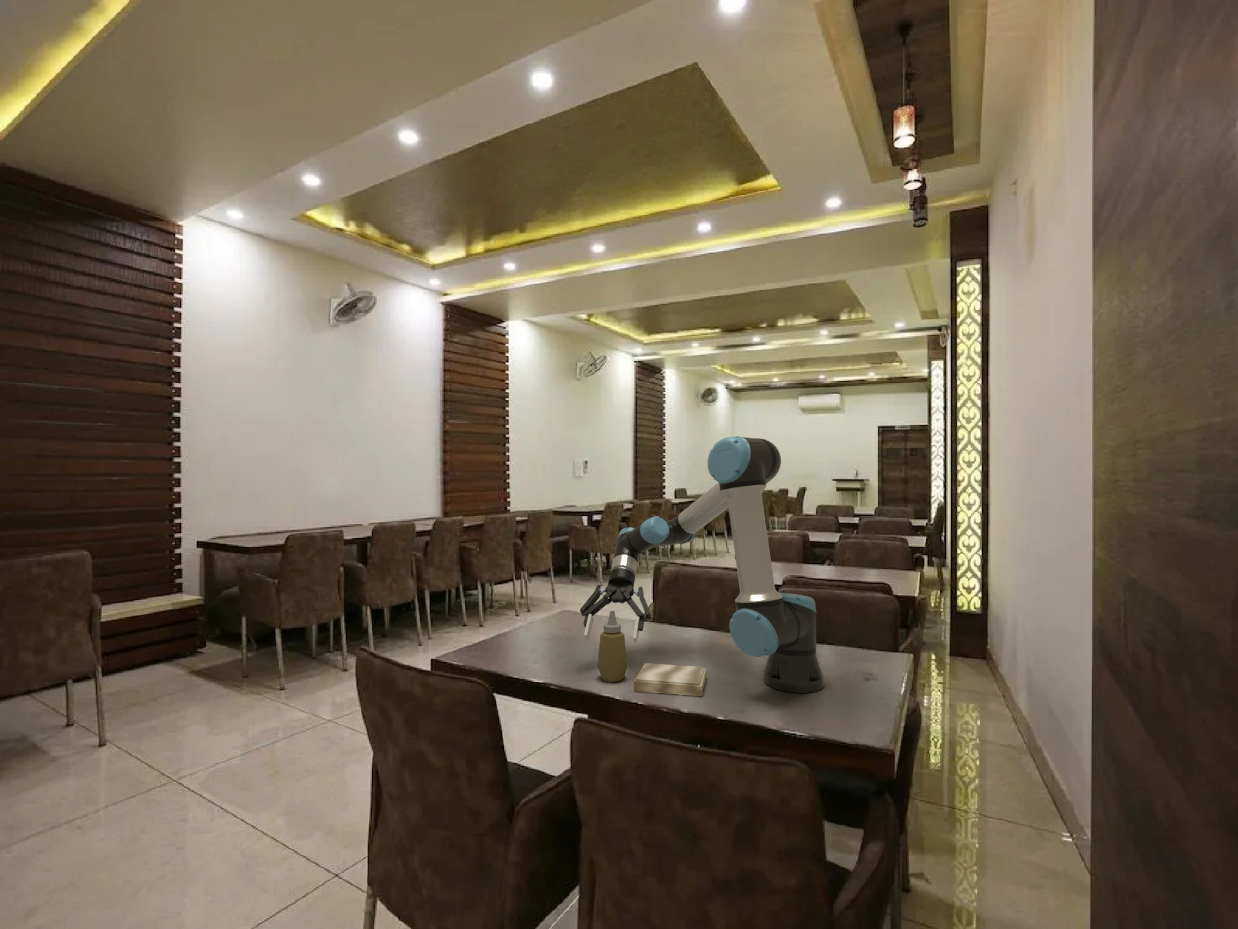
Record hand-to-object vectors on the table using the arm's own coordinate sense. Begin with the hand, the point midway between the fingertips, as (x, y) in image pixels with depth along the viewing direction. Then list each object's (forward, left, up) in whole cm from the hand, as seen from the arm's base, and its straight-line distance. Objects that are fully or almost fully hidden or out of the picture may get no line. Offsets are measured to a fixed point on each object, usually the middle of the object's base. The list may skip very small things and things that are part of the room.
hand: (610, 639), depth 159 cm
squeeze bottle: (-1, +1, -10) cm, 11 cm away
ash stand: (-17, +2, -10) cm, 20 cm away
